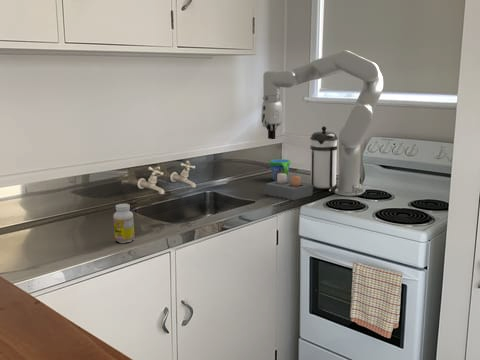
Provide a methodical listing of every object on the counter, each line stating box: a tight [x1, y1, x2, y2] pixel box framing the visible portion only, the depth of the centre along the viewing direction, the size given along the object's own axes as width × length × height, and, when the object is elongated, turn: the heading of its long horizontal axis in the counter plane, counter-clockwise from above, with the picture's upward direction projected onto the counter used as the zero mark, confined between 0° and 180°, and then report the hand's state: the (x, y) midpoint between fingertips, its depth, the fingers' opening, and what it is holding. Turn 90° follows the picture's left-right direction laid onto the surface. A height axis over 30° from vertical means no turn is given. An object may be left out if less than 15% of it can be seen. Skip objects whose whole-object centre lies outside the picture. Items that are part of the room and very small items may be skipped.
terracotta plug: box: [290, 175, 302, 187], centre depth 245 cm, size 4×4×5 cm
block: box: [265, 179, 313, 201], centre depth 249 cm, size 17×13×5 cm
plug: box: [277, 173, 288, 185], centre depth 251 cm, size 4×4×5 cm
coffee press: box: [309, 126, 339, 193], centre depth 258 cm, size 17×16×30 cm
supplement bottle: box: [112, 203, 135, 240], centre depth 186 cm, size 7×7×13 cm
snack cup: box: [269, 158, 291, 182], centre depth 280 cm, size 16×10×10 cm
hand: (271, 138), depth 251 cm, fingers closed
